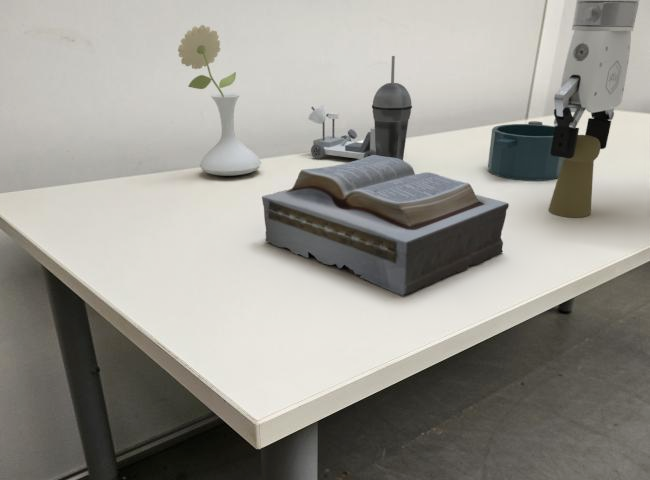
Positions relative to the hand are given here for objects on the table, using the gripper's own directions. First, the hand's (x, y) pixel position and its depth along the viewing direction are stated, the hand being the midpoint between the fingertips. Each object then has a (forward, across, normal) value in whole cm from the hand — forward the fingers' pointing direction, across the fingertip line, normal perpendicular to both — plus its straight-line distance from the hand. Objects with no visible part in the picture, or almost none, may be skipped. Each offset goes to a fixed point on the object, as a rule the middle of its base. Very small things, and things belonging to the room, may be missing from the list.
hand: (578, 151), depth 87 cm
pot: (+9, +18, +18) cm, 27 cm away
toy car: (+9, +5, +50) cm, 51 cm away
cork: (+9, 0, 0) cm, 9 cm away
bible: (+9, -32, +9) cm, 34 cm away
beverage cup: (+9, 0, +36) cm, 37 cm away
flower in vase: (+10, -23, +56) cm, 61 cm away
